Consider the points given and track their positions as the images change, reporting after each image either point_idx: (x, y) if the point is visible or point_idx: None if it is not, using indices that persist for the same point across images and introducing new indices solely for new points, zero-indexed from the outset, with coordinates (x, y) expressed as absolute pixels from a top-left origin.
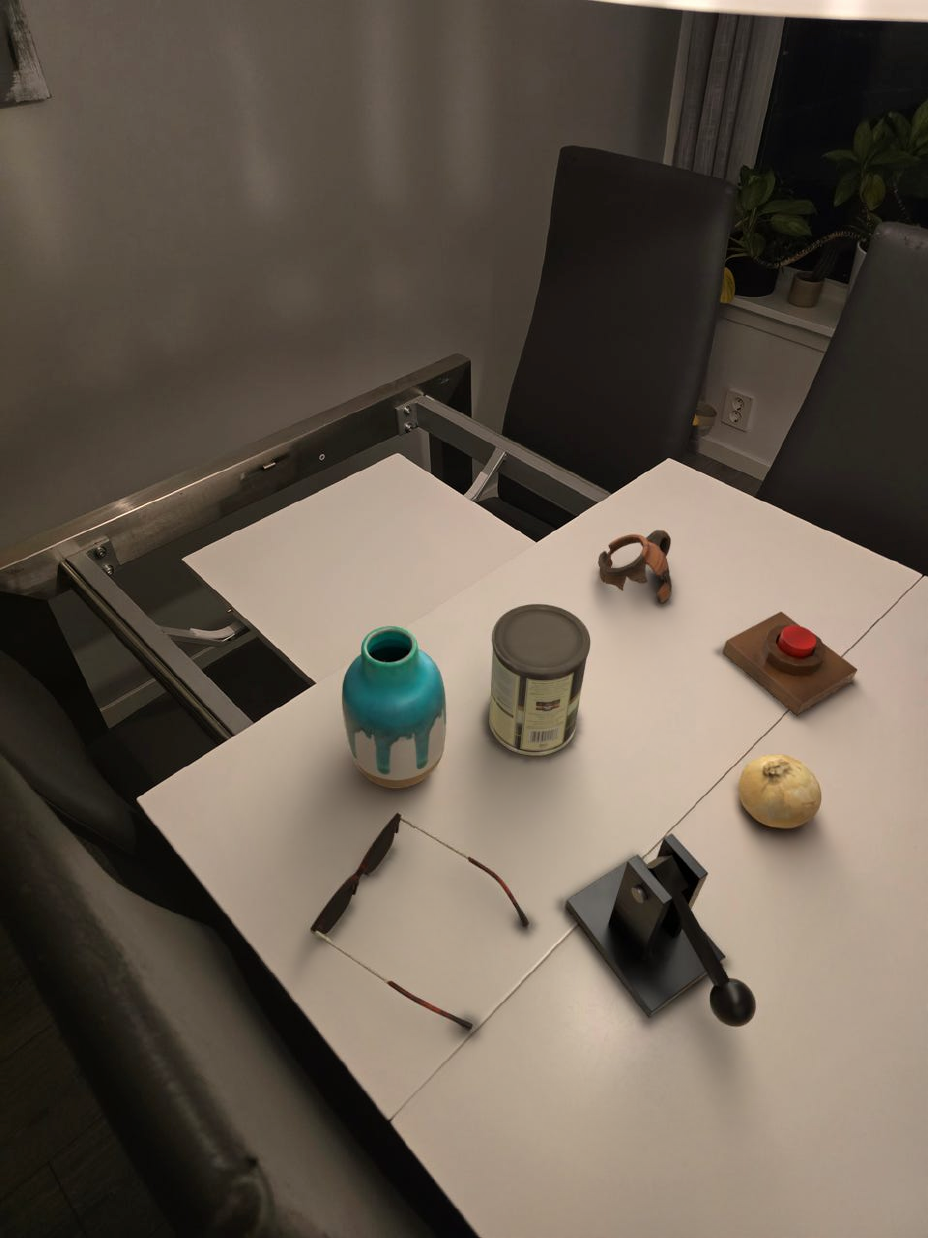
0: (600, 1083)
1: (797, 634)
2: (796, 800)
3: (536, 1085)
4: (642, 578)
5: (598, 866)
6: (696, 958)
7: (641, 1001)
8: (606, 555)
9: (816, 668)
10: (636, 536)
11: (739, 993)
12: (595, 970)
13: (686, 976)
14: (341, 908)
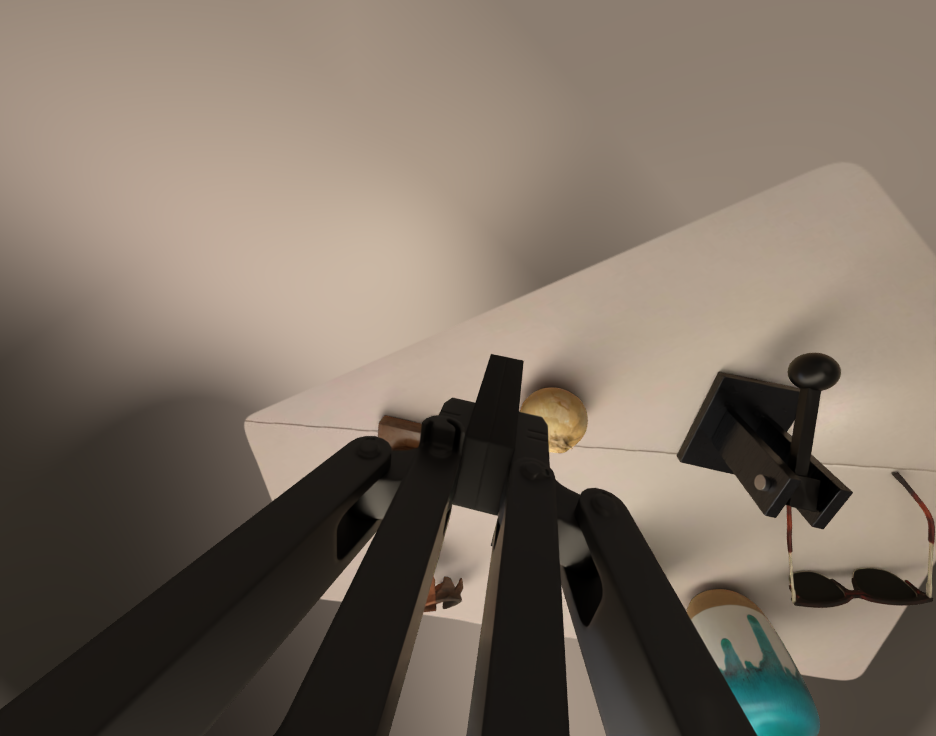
0: (880, 388)
1: None
2: (571, 416)
3: (910, 419)
4: (447, 582)
5: (700, 471)
6: (741, 391)
7: None
8: (444, 604)
9: (409, 448)
10: None
11: (826, 380)
12: (789, 433)
13: (762, 389)
14: (870, 578)
